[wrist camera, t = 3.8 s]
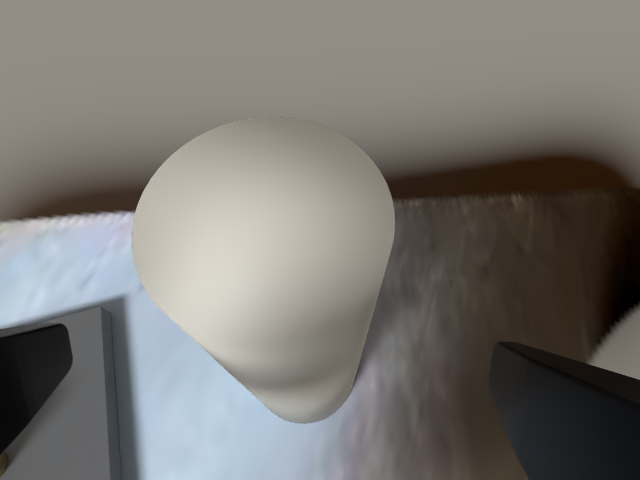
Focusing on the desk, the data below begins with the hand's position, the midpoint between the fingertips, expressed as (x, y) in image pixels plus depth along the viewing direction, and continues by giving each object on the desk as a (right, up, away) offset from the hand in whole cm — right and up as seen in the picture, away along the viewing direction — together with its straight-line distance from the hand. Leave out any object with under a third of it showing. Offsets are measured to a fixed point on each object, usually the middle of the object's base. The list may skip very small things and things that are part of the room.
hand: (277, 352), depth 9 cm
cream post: (0, -3, +10) cm, 10 cm away
